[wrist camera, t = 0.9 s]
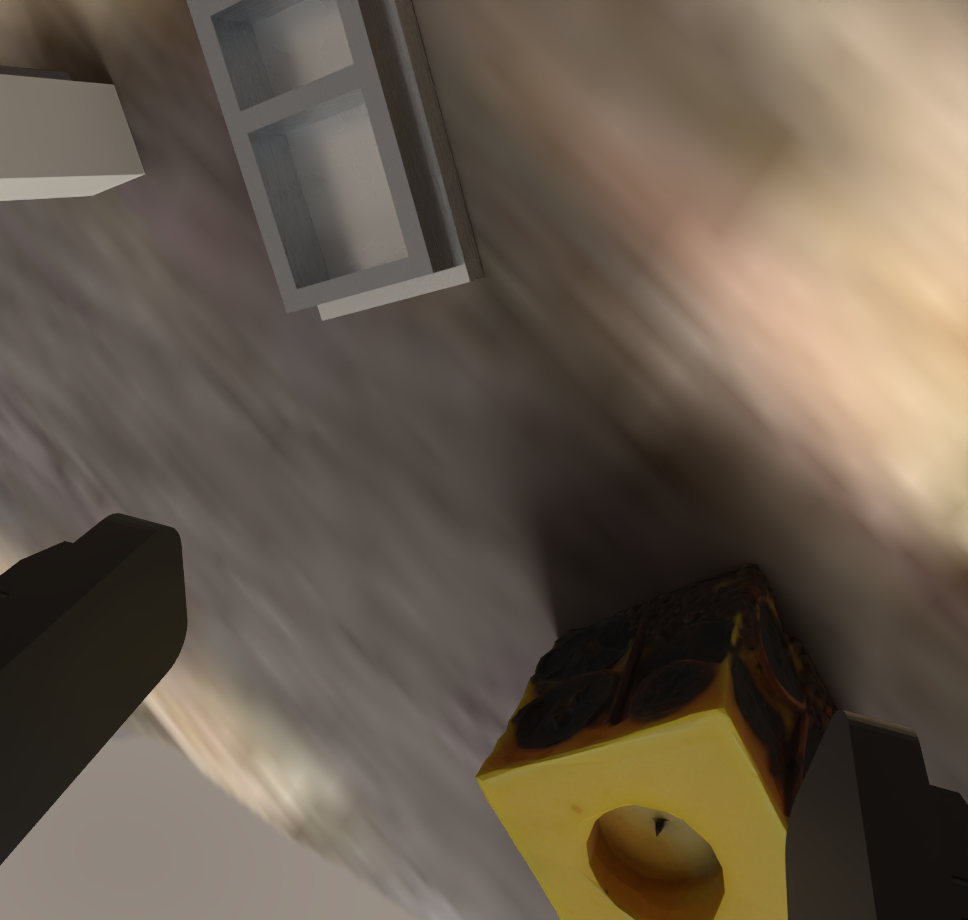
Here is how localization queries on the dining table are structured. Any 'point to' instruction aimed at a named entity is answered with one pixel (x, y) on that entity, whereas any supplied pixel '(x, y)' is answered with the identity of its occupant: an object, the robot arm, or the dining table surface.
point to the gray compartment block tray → (340, 148)
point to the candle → (663, 758)
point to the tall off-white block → (61, 136)
